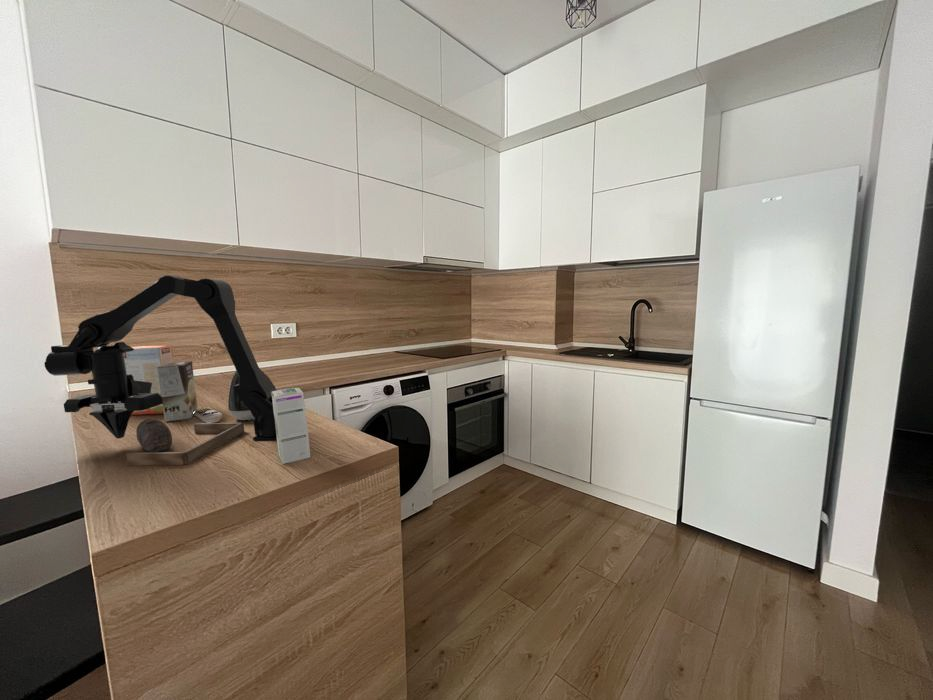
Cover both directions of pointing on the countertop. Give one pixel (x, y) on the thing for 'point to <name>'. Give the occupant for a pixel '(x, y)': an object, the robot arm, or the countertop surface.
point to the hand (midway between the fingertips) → (120, 437)
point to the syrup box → (290, 425)
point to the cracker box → (148, 369)
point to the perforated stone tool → (154, 435)
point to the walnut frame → (188, 456)
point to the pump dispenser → (237, 402)
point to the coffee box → (177, 390)
